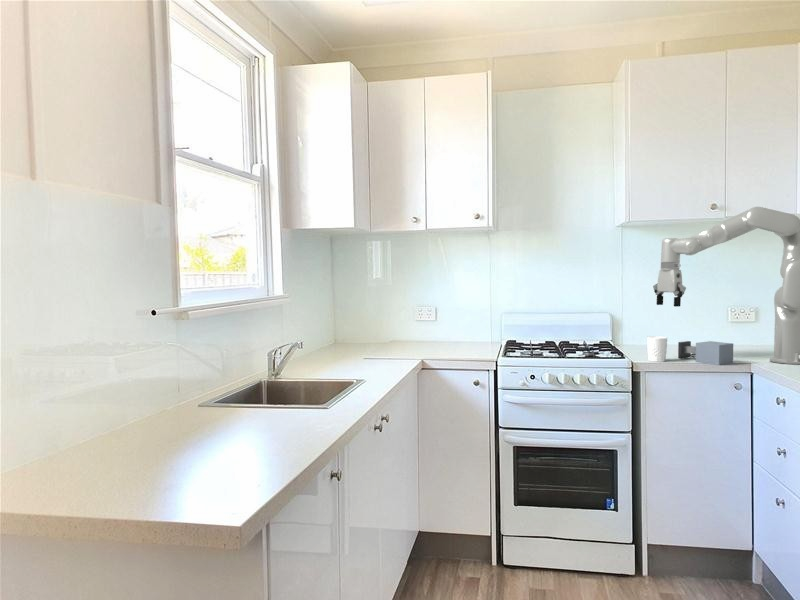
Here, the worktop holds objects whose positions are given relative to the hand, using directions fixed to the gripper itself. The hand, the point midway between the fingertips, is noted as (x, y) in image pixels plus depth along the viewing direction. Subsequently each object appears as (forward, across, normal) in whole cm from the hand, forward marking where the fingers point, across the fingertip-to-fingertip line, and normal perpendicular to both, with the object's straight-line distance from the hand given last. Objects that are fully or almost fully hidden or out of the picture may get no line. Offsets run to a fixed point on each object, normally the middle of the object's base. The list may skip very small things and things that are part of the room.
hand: (668, 305), depth 258 cm
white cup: (+23, -7, +12) cm, 27 cm away
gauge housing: (+22, -14, -7) cm, 27 cm away
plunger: (+22, -11, -6) cm, 25 cm away
